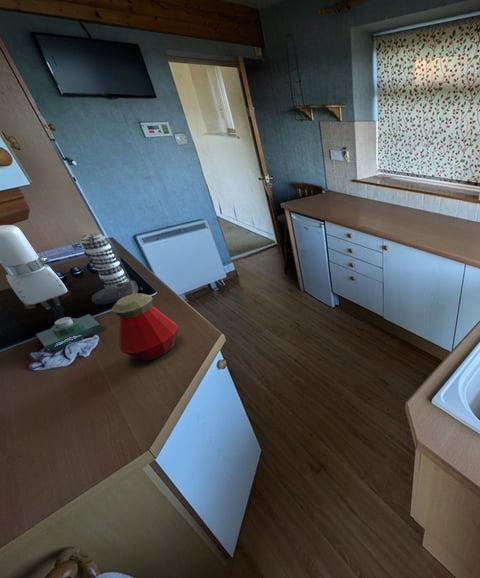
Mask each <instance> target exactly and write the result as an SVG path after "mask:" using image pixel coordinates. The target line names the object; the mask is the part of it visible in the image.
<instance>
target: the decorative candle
mask: <svg viewBox="0 0 480 578" xmlns="http://www.w3.org/2000/svg"><path fill="white" fill-rule="evenodd" d="M79 243H80V244H81V245H82V247H83V254H84V256H86V259H87V260H88V262H89V263H90V265H91V264H92V265H91V266H92V268H93V270H95V271H97V274H98V276H99V278H100V282H101V283H102V284H103V287H104V289H105V288H107V287H110V286H113V285H116V284H120V283H124V282H128V281H130V279H129V278H128V276H127V273H126V272H125V271H124V269H123V268H122V266H121V265H120V264H121V262H120V259H119V258H118V255H117V254H116V251H115V250H114V249H115V247H113V246H111V244H110V243H109V242H108V239H107V236H106V235H104V234H101V233H89V234H86V235H83V236H82V237H81V239H80V240H79Z"/></svg>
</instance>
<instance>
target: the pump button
mask: <svg viewBox="0 0 480 578" xmlns="http://www.w3.org/2000/svg"><path fill="white" fill-rule="evenodd" d="M73 323H74V322H73V321H72V317H70V316H66V317H65V316H64V317H60V318H58V319H57V320H56V321H54V325H56V326H57V328H58V329H61V328H65V327H68V326H70V325H72V324H73Z"/></svg>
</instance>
